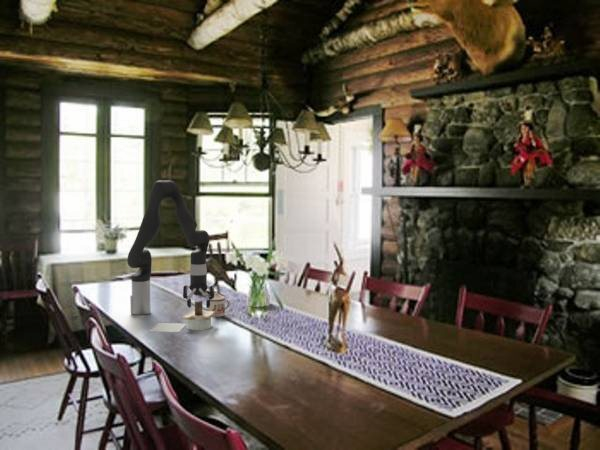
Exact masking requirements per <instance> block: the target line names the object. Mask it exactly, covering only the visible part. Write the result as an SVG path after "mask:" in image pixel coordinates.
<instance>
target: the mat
mask: <svg viewBox="0 0 600 450" xmlns="http://www.w3.org/2000/svg"><path fill="white" fill-rule="evenodd" d="M186 326H187V323H179V322H178V323H176V322H175V323H174V322H173V323H171V322H158V323H157V324H155V325H154V326H153V327H152V328H151V329H149V330H148V332H163V333H166V332H167V333H179V332H180V331H182V330H183V328H184V327H186Z"/></svg>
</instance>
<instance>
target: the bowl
mask: <svg viewBox="0 0 600 450" xmlns="http://www.w3.org/2000/svg"><path fill="white" fill-rule="evenodd" d="M186 324H187V325H186V328H187V329H188V330H190V331H191V330H192V331H204V330H208V329H210V328H211V327H212V317H211V318H210V319H209V320H186Z"/></svg>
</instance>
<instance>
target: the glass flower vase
mask: <svg viewBox="0 0 600 450" xmlns="http://www.w3.org/2000/svg"><path fill="white" fill-rule="evenodd" d="M251 283H252V282H250V283H248V286H249V289H248V292H247V294H246V306H248V307H250V306H249V303H250V289H251ZM265 299H266V304H267V306H266V307H269V306H270V304H271V303H270V302H271V299H270V293H269V291H268V287H267V283H266V282H265Z"/></svg>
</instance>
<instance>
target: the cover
mask: <svg viewBox="0 0 600 450" xmlns="http://www.w3.org/2000/svg"><path fill="white" fill-rule="evenodd" d="M213 314H214V311H208V310H207V311H206V310H203V301H202V300H195V301H194V310H189V311H187V313H186V314H184V315H183V316H182V320H185V321H187V320H209V319H210V318H211V319H212V315H213Z"/></svg>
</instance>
